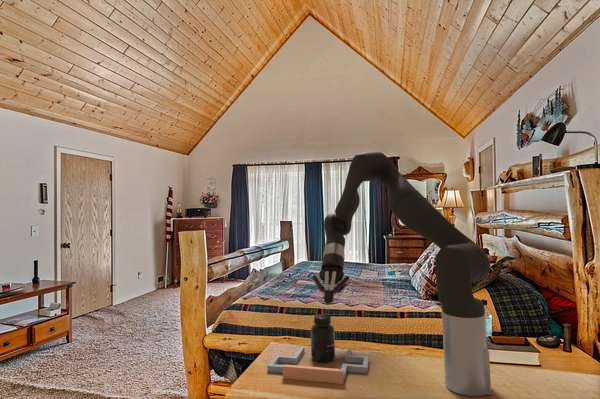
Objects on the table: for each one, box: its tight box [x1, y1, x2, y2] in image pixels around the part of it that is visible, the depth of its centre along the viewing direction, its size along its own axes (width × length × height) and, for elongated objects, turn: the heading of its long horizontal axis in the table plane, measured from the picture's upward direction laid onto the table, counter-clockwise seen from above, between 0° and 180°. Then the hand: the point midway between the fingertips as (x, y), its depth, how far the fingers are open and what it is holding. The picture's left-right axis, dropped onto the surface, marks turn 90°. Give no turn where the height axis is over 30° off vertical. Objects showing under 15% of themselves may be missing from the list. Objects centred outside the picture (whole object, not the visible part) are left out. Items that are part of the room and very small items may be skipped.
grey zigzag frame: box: [267, 345, 370, 385], centre depth 97 cm, size 26×18×3 cm
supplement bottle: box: [310, 313, 336, 364], centre depth 102 cm, size 7×7×12 cm
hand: (328, 302), depth 112 cm, fingers closed
